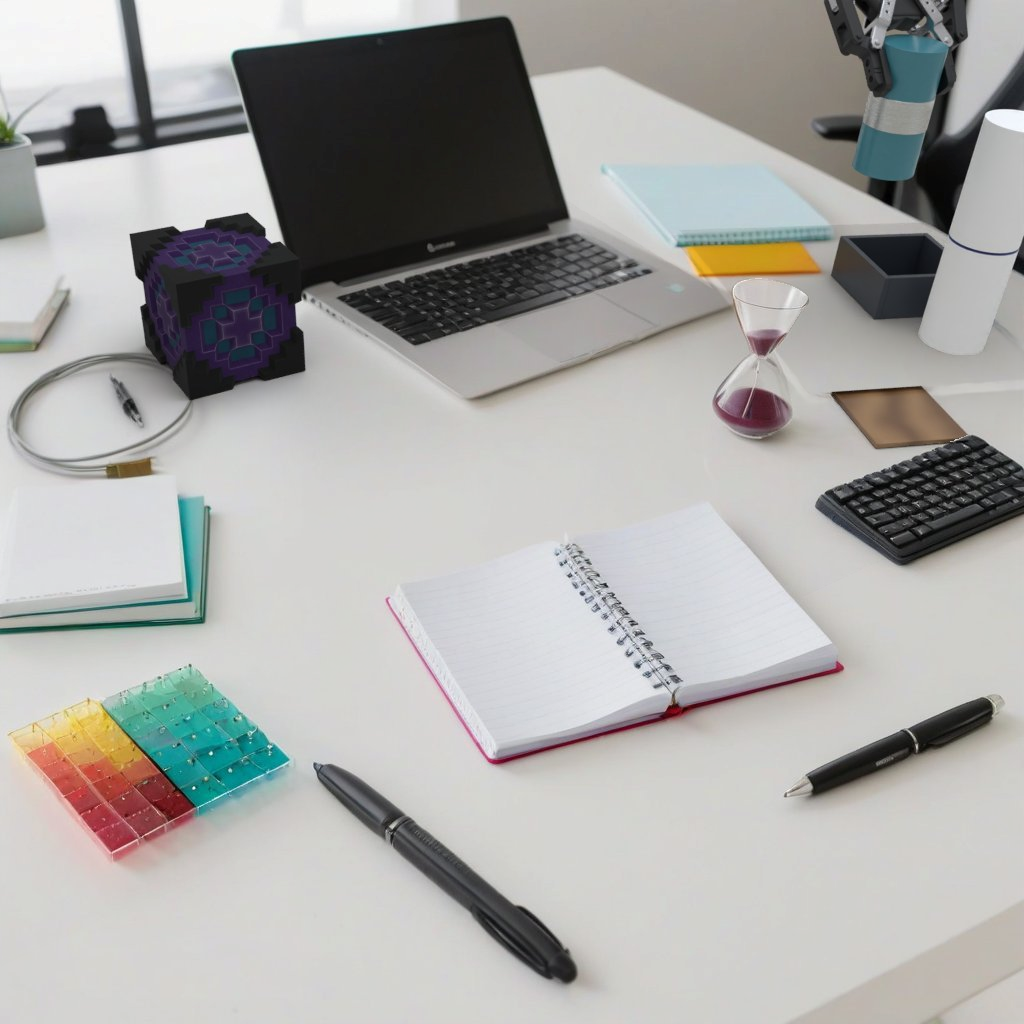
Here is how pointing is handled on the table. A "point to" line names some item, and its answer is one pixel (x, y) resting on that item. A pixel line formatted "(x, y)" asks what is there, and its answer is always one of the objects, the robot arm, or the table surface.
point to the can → (900, 109)
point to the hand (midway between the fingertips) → (914, 91)
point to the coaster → (899, 416)
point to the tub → (888, 272)
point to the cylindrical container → (980, 240)
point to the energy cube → (219, 303)
